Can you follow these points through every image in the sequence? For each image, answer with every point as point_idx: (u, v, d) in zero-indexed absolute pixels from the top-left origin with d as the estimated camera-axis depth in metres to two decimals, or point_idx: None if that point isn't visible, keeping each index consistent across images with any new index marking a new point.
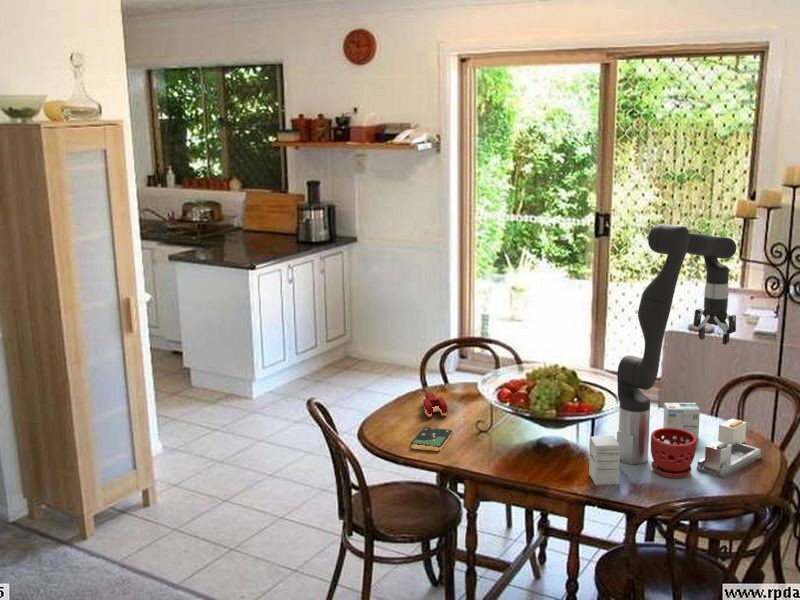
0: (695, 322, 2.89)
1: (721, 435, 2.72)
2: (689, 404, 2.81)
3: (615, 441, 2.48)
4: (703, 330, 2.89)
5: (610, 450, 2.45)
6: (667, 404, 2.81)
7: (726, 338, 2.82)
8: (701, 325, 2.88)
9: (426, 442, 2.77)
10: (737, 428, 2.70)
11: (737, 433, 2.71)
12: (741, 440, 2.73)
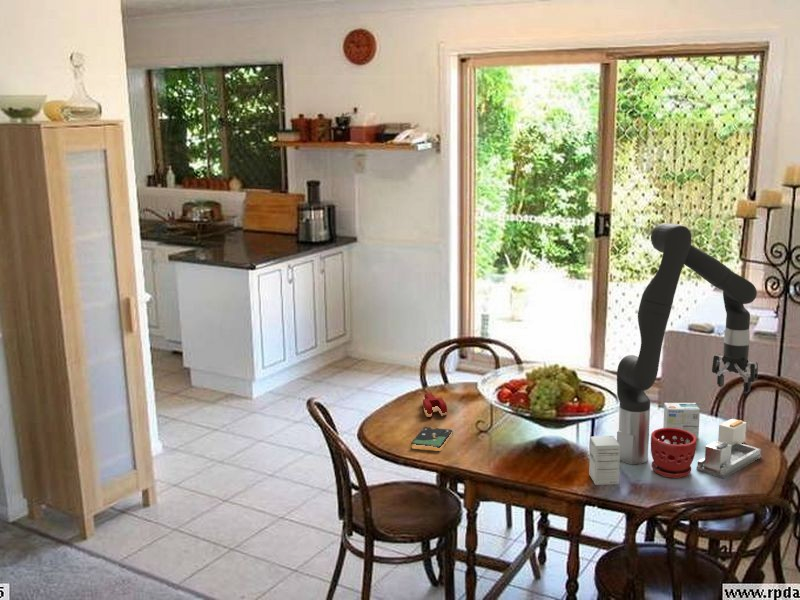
0: (714, 368, 2.74)
1: (721, 435, 2.72)
2: (689, 404, 2.81)
3: (615, 441, 2.48)
4: (722, 377, 2.73)
5: (610, 450, 2.45)
6: (667, 404, 2.81)
7: (747, 387, 2.67)
8: (720, 372, 2.72)
9: (426, 442, 2.77)
10: (737, 428, 2.70)
11: (737, 433, 2.71)
12: (741, 440, 2.73)
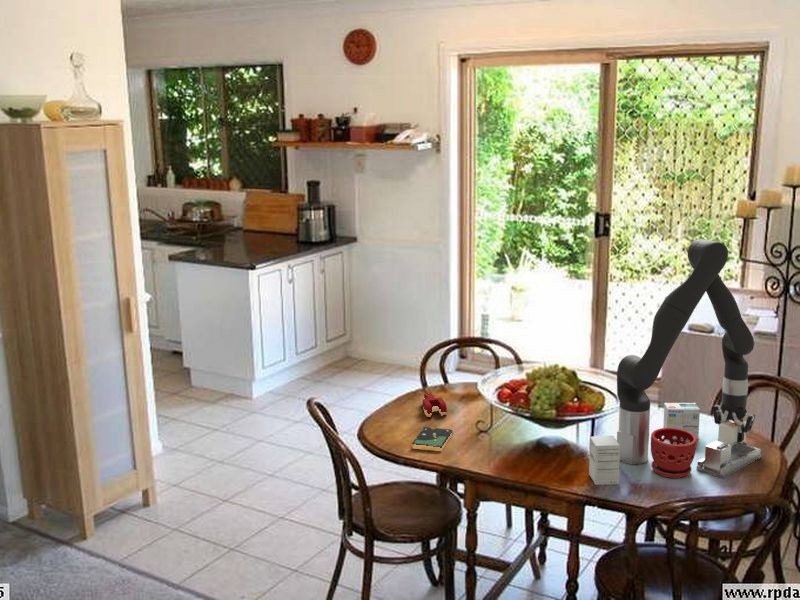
0: (716, 419, 2.76)
1: (721, 435, 2.72)
2: (689, 404, 2.81)
3: (615, 441, 2.48)
4: None
5: (610, 450, 2.45)
6: (667, 404, 2.81)
7: (741, 437, 2.71)
8: None
9: (427, 442, 2.77)
10: (737, 428, 2.70)
11: (737, 433, 2.71)
12: None
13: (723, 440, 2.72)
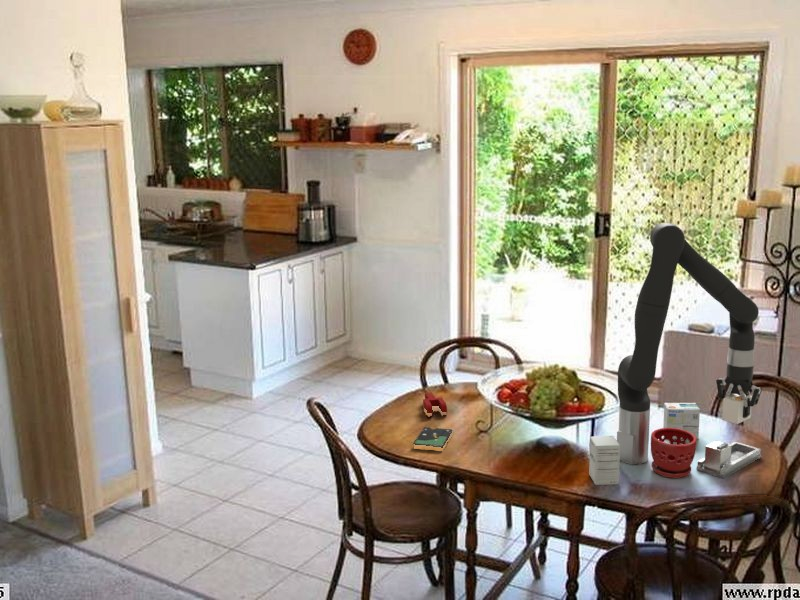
0: (720, 393, 2.60)
1: (726, 410, 2.56)
2: (689, 404, 2.81)
3: (615, 441, 2.48)
4: None
5: (610, 450, 2.45)
6: (667, 404, 2.81)
7: (747, 411, 2.55)
8: None
9: (428, 442, 2.77)
10: None
11: None
12: None
13: (728, 415, 2.56)
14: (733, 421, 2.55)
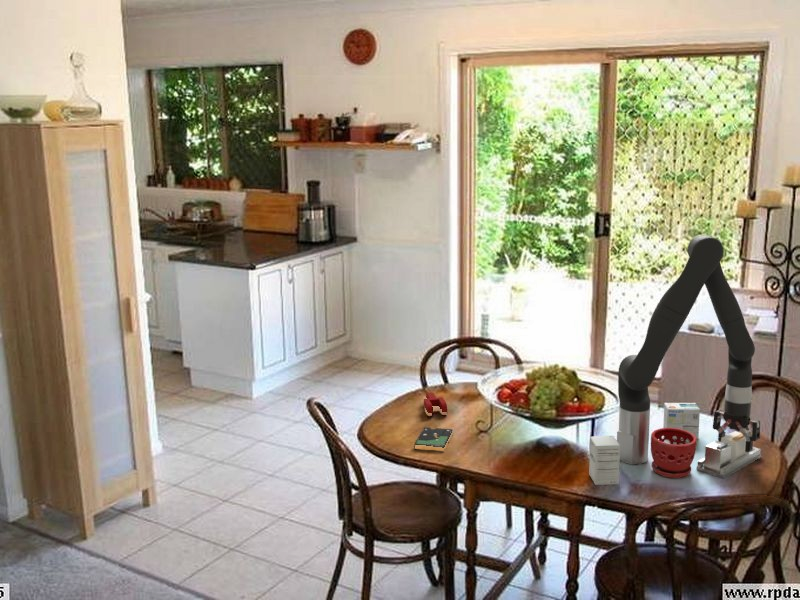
0: (714, 425, 2.63)
1: None
2: (689, 404, 2.81)
3: (615, 441, 2.48)
4: (723, 434, 2.63)
5: (610, 450, 2.45)
6: (667, 404, 2.81)
7: (749, 446, 2.56)
8: (721, 429, 2.62)
9: (429, 443, 2.77)
10: (740, 442, 2.57)
11: (740, 447, 2.57)
12: (744, 454, 2.60)
13: None
14: (731, 461, 2.58)
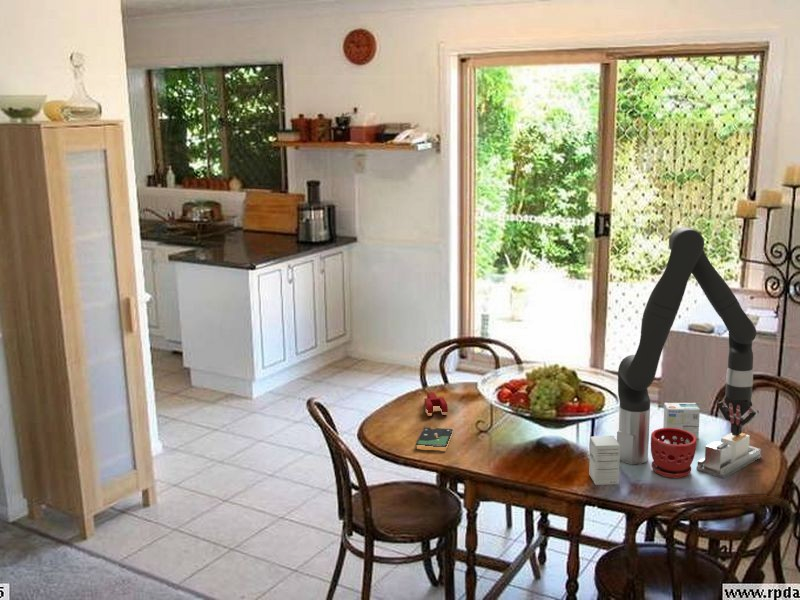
0: (725, 416, 2.60)
1: None
2: (689, 404, 2.81)
3: (615, 441, 2.48)
4: None
5: (610, 450, 2.45)
6: (667, 404, 2.81)
7: (738, 429, 2.58)
8: (732, 418, 2.58)
9: (431, 443, 2.77)
10: (740, 442, 2.57)
11: (740, 447, 2.57)
12: (744, 454, 2.60)
13: None
14: (731, 461, 2.58)
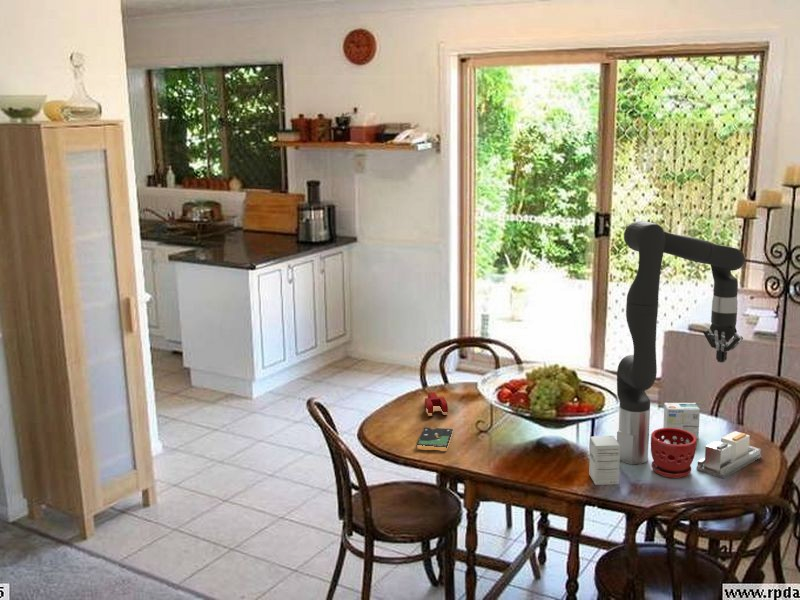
0: (711, 343, 2.68)
1: None
2: (689, 404, 2.81)
3: (615, 441, 2.48)
4: None
5: (610, 450, 2.45)
6: (667, 404, 2.81)
7: (723, 356, 2.66)
8: (717, 345, 2.67)
9: (432, 443, 2.77)
10: (740, 442, 2.57)
11: (740, 447, 2.57)
12: (744, 454, 2.60)
13: None
14: (731, 461, 2.58)
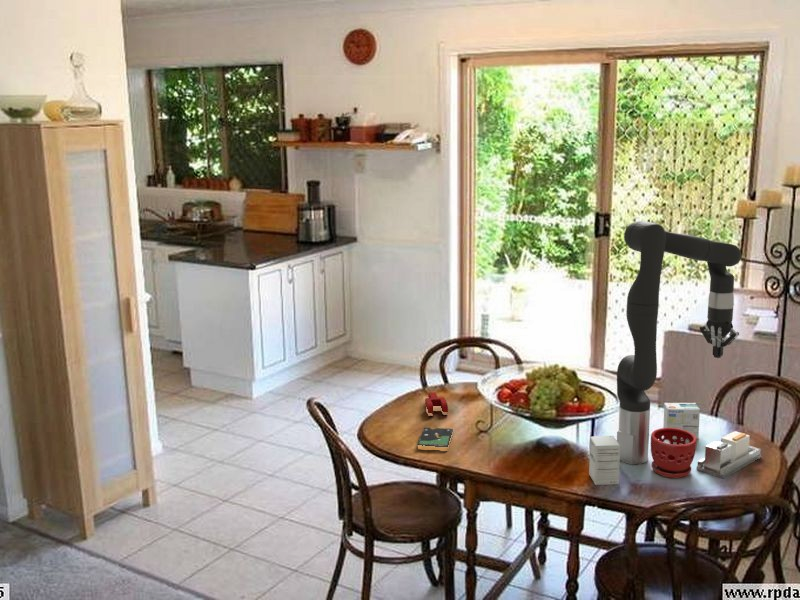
0: (707, 339, 2.70)
1: None
2: (689, 404, 2.81)
3: (615, 441, 2.48)
4: None
5: (610, 450, 2.45)
6: (667, 404, 2.81)
7: (720, 351, 2.68)
8: (714, 341, 2.68)
9: (432, 443, 2.77)
10: (740, 442, 2.57)
11: (740, 447, 2.57)
12: (744, 454, 2.60)
13: None
14: (731, 461, 2.58)
